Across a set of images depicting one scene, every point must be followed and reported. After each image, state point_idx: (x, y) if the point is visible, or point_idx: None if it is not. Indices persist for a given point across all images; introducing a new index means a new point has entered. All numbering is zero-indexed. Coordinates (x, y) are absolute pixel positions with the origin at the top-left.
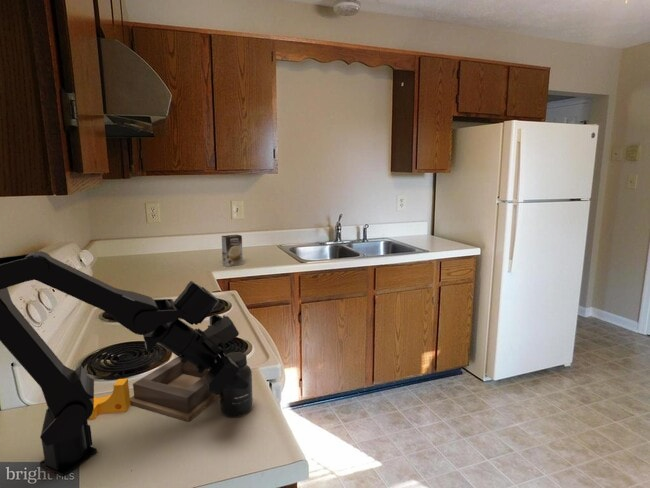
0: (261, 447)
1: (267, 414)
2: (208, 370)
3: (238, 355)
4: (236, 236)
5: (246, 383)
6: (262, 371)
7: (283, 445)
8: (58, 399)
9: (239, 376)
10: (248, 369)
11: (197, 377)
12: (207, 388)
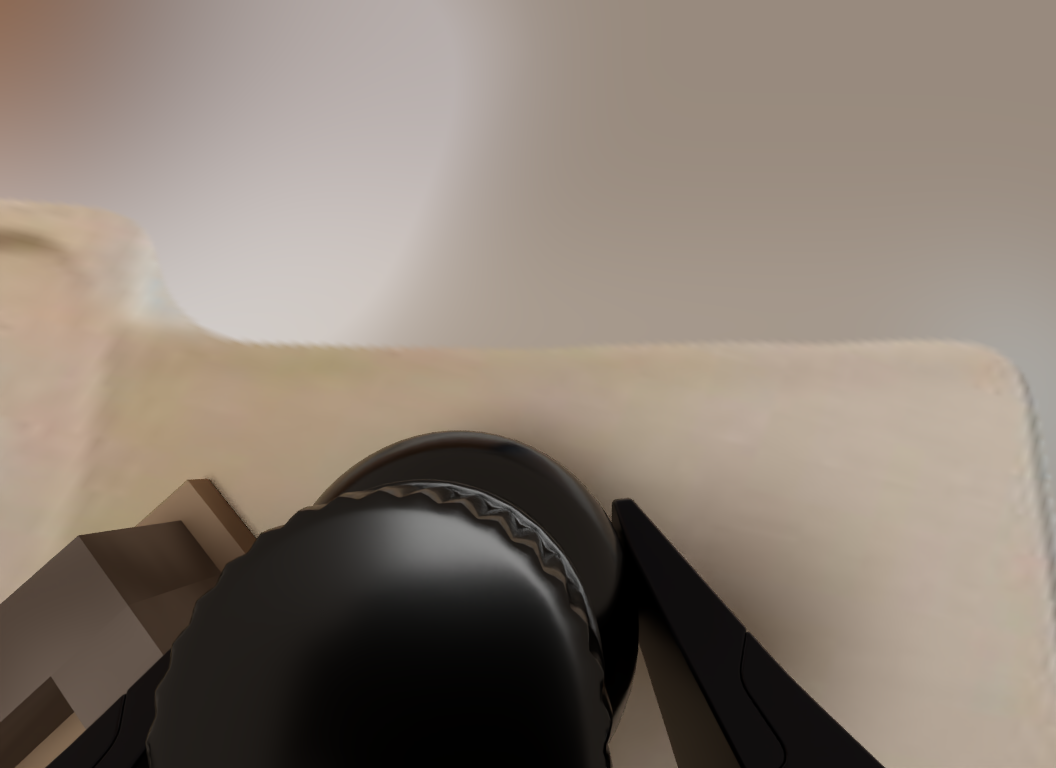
0: (880, 492)
1: (619, 394)
2: (30, 715)
3: (352, 645)
4: None
5: (652, 526)
6: (179, 312)
7: (895, 387)
8: None
9: (770, 662)
10: (512, 472)
11: (32, 755)
12: None
